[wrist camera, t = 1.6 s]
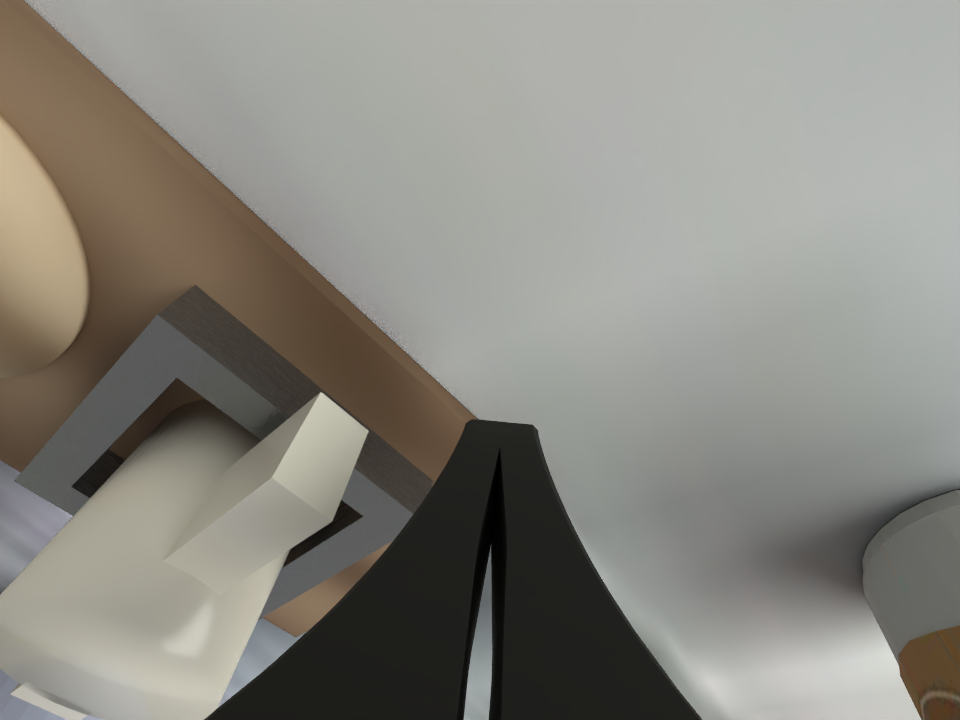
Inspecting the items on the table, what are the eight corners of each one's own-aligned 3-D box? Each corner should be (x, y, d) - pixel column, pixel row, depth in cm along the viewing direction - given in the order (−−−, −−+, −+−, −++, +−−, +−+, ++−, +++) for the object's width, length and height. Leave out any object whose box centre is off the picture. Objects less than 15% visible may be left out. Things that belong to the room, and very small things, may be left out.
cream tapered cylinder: (249, 546, 19) (138, 751, 13) (119, 462, 17) (-67, 660, 12) (439, 414, 15) (388, 630, 9) (296, 287, 13) (137, 465, 8)
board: (301, 623, 22) (295, 637, 21) (-437, 169, 14) (-474, 175, 13) (550, 486, 17) (551, 500, 16) (-414, -403, 8) (-475, -430, 8)
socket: (272, 581, 20) (253, 622, 18) (56, 443, 17) (13, 481, 15) (433, 480, 16) (424, 522, 15) (195, 284, 13) (157, 314, 12)
